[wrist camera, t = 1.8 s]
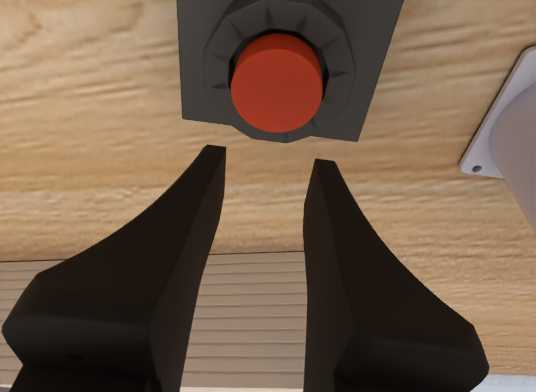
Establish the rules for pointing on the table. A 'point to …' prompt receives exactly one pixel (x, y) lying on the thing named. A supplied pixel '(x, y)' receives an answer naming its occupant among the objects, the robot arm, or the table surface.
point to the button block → (296, 24)
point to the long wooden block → (218, 323)
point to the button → (277, 83)
